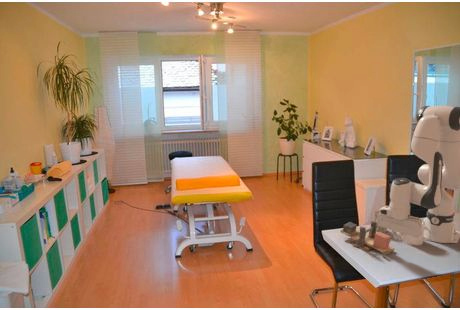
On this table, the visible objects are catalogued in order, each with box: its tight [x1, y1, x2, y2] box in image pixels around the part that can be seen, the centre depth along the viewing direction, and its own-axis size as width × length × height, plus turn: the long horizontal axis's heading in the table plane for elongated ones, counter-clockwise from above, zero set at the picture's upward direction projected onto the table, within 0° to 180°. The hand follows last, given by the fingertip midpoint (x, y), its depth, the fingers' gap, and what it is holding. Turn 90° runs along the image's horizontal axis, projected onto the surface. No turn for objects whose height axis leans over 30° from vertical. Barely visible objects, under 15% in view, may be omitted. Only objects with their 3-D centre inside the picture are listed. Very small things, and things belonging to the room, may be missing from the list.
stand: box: [352, 220, 387, 258], centre depth 176 cm, size 16×13×11 cm
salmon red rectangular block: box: [373, 231, 392, 250], centre depth 173 cm, size 6×4×6 cm, turn 40°
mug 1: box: [373, 210, 388, 234], centre depth 194 cm, size 8×13×10 cm, turn 140°
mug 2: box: [401, 220, 431, 246], centre depth 182 cm, size 14×10×11 cm
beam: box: [340, 221, 395, 255], centre depth 179 cm, size 26×9×7 cm, turn 39°
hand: (397, 239), depth 168 cm, fingers closed
